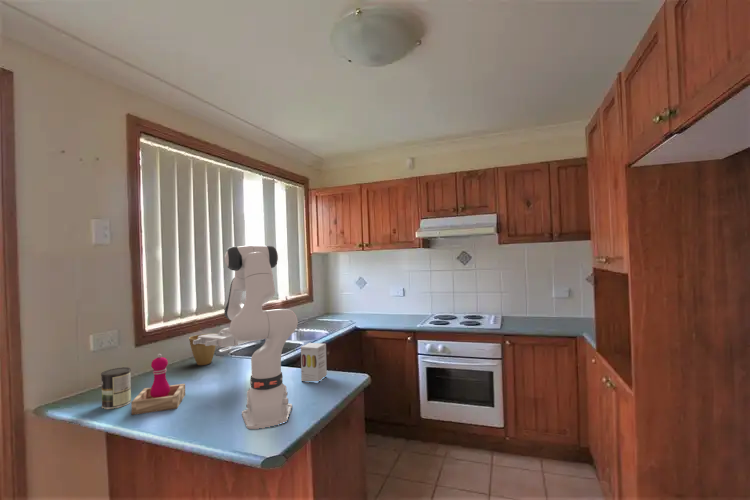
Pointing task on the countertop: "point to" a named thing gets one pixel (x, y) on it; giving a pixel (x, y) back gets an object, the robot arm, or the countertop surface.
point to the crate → (158, 400)
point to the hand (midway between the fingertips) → (199, 343)
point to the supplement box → (313, 362)
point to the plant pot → (202, 351)
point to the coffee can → (116, 388)
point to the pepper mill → (159, 378)
